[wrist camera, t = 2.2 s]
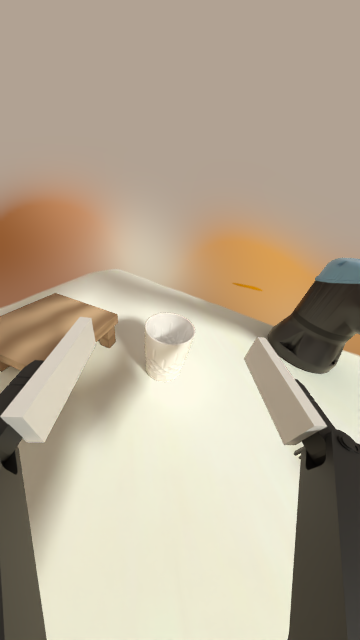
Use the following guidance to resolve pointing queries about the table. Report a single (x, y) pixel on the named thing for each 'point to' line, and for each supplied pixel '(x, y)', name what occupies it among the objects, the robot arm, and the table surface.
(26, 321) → the stool
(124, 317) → the table surface
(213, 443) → the table surface
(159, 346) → the white cup
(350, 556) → the robot arm
